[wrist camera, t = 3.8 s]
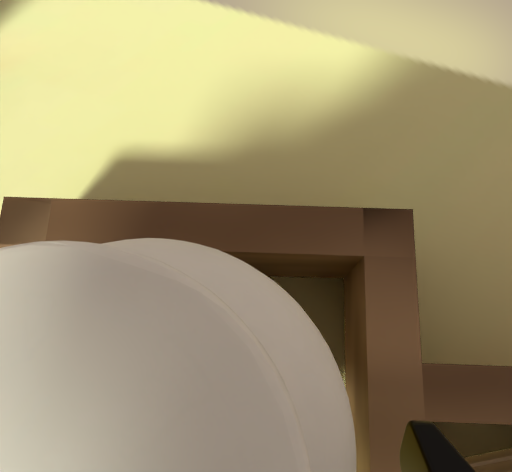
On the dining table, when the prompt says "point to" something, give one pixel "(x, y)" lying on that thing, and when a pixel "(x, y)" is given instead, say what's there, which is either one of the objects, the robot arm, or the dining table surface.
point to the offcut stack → (492, 461)
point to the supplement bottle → (161, 364)
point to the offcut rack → (311, 265)
